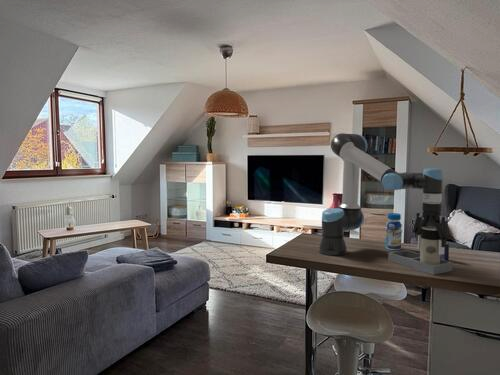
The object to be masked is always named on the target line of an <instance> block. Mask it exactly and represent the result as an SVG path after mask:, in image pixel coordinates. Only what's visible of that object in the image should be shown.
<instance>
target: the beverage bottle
mask: <svg viewBox="0 0 500 375" xmlns="http://www.w3.org/2000/svg"><path fill="white" fill-rule="evenodd" d="M401 216H402V215H401V214H400V213H397V212H396V213H395V212H388V213H387V220H388V221H387V222H386V225H385V248H386V249H387V250H390V251H402V233H403V229H402V227H403V224H402V222H401V220H402V218H401Z"/></svg>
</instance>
